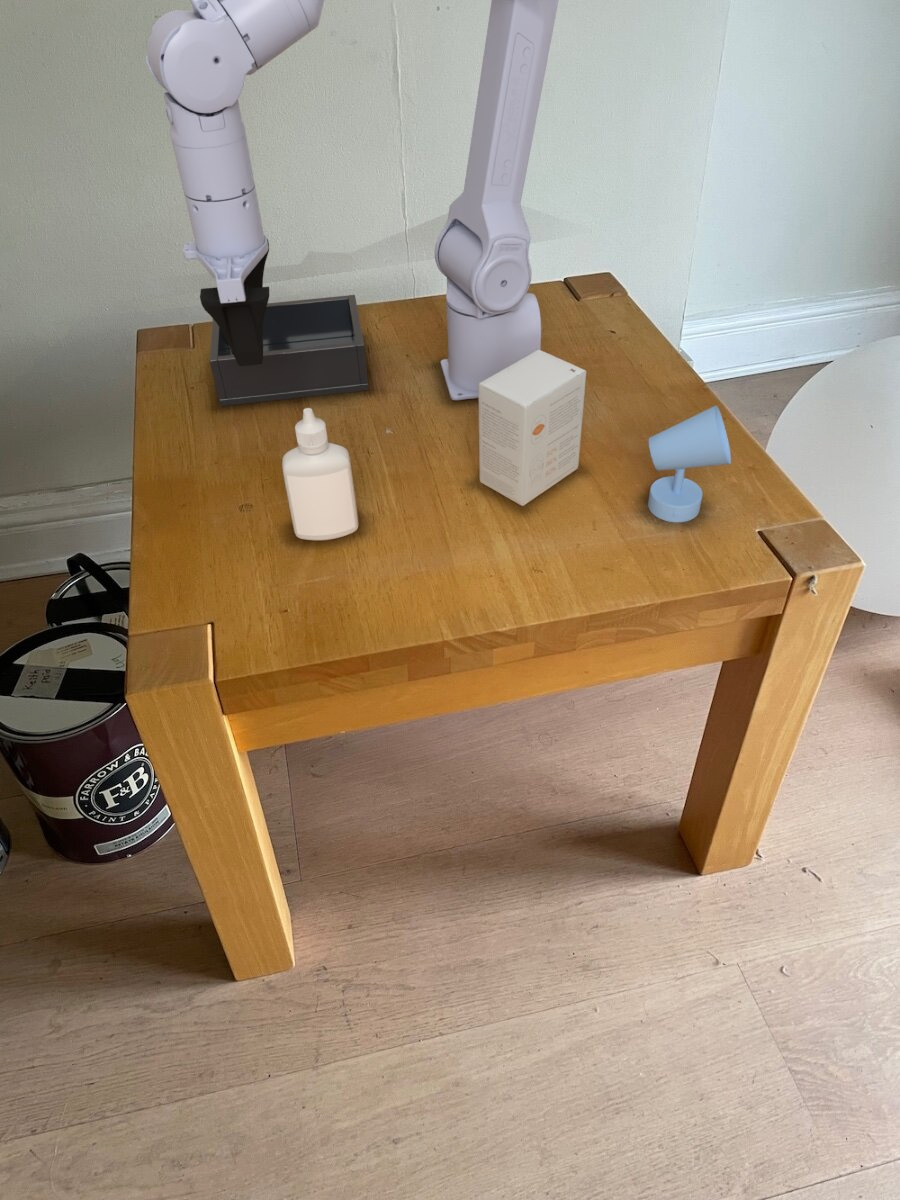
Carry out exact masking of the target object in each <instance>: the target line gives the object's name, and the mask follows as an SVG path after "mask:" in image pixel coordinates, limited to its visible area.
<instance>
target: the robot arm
mask: <svg viewBox="0 0 900 1200" xmlns="http://www.w3.org/2000/svg"><path fill="white" fill-rule="evenodd" d="M490 2H491V3H490V10H489V16H488V21H487V22H488V23H487V30H486V36H485V42H484V50H483V56H482V57H483V58H482V63H481V69H480V70H481V71H480V78H479V84H478V90H477V97H476V104H475V112H474V118H473V125H472V131H471V132H472V133H471V137H470V145H469V150H468V151H469V152H468V159H467V165H466V172H465V179H464V185H463V191H462V193H460V195H458V197H456V199H454V200H453V202H452V203H450V205H449V207H448V215H447V219H446V221H445V225H444V227H443V228H442V230H441V232H440V233H439V235H438V237H437V239H436V242H435V245H434V260H435V261H434V262H435V264H436V267H437V269H438V270H439V272H440V273H441V274H442V275H443V276H444V277H445V278H446V294H445V301H446V329H447V330H446V331H447V358H444V359H441V360H440V367H441V371H442V374H443V377H444V381H445V384H446V387H447V390H448V394H449V397H450V399H451V400H452V401H462V400H464V401H465V400H473V399H479V393H478V385H479V383H480V382H482V381H484V380H486V379H488V378H489V377H491V376H493V375H495V374H496V373H498V372H500V371H502V370H503V369H505V368H507V367H509V366H510V365H512V364H514V363H516V362H517V361H519V360H521V359H523V358H524V357H526V356H528V355H530V354H531V353H533V352H535V351H537V350H541V349H542V346H541V345H542V319H541V310H540V305H539V301H538V299H537V296H536V295H535V294H534V293H529V292H528V291H529V289H530V286H531V281H532V274H533V273H532V266H531V262H530V258H529V251H530V242H531V233H530V230H529V227H528V224H527V221H526V217H525V216H524V215H525V214H524V212H523V210H522V205H521V204H522V197H523V193H524V187H525V181H526V176H527V171H528V165H529V160H530V155H531V149H532V144H533V139H534V135H535V134H534V133H535V130H536V129H535V128H536V123H537V119H538V118H537V117H538V113H539V106H540V103H541V96H542V92H543V91H542V90H543V86H544V80H545V75H546V70H547V66H548V65H547V64H548V59H549V53H550V48H551V43H552V37H553V32H554V27H555V21H556V16H557V10H558V6H559V0H491V1H490ZM189 3H191V4H190V5H191V6H192V9H193V10H189V9H183V10H180V9H174V10H172V11H168V12H167V13H164V14H163V15H162V16H160V17H159V18H158V19H157V21H156V22H155V23H154V24H153V25H152V28H151V30H150V31H151V33H150V35H148V40H147V55H145V62H146V65H147V67H148V70H149V71H150V74H151V75H152V77H153V78H154V79H155V81H156V82H157V83H158V84H159V85H160V86H161V87H162V88H163V89H164V90H165V91H166V92H164V93H163V98H164V102H165V114H166V117H167V120H168V121H169V124H170V127H169V128H170V129H169V134H170V139H171V143H172V148H173V151H174V156H175V161H176V164H177V168H178V174H179V178H180V182H181V187H182V191H183V194H184V198H185V202H186V203H185V204H186V208H187V212H188V216H189V221H190V225H191V229H192V234H193V237H194V238H193V239H194V241H187V242H184V244H182V245H183V246H182V254H183V258H184V259H186V260H197V261H199V263H200V264H201V265H202V266H203V268H204V269H205V270H206V271H207V272H208V274H210V276H211V277H212V278H213V280H214V281H215V285H216V286H215V287H206V288H205V287H204V288H201V289H200V292H199V299H200V303H201V306H202V308H203V309H204V311H205V312H206V313H207V314H208V315H209V316H210V317H211V318H212V319H214V320H215V322H216V323H217V324H218V326H219V327H220V329H221V331H222V332H223V334H224V336H225V338H226V340H227V342H228V345H229V347H230V349H231V351H232V353H233V355H234V357H235V359H236V361H237V363H238V365H239V366H249V365H259V364H262V361H263V318H264V313H265V309H266V306H267V303H269V300H270V286H263V285H264V271H265V267H266V262H267V258H268V255H269V252H270V242H269V238H267V236H266V235H265V234H264V227H263V222H262V216H261V210H260V205H259V200H258V195H257V189H256V183H255V179H254V171H253V167H252V161H251V155H250V151H249V145H248V138H247V133H246V126H245V124H244V122H243V120H242V114H241V109H240V103H239V98H240V96H241V94H242V91H243V88H244V85H245V79H246V76H252V75H253V74H255V73H256V72H257V71H259V70H261V68H263V67H264V66H266V65H267V64H269V63H270V62H271V61H273V60H274V59H275V58H277V57H279V56H280V55H281V54H282V53H284V52H285V51H286V50H288V49H289V48H290V47H292V46H293V45H294V44H296V43H297V42H299V41H300V40H302V39H303V38H304V37H306V36H307V35H308V34H310V33H311V32H312V31H313V30H315V29H317V28H318V26H319V25H320V21H321V18H322V11H323V8H324V3H325V0H189ZM541 351H542V350H541Z"/></svg>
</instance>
